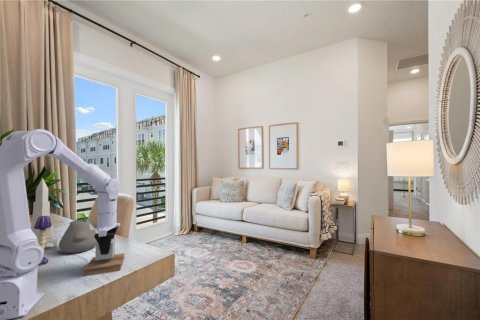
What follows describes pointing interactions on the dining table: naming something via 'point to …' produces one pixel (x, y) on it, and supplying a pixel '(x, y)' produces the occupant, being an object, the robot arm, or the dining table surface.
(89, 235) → the toy
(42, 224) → the toy lamp
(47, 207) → the sculpture
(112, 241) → the slate cube
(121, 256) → the walnut base
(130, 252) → the dining table surface
